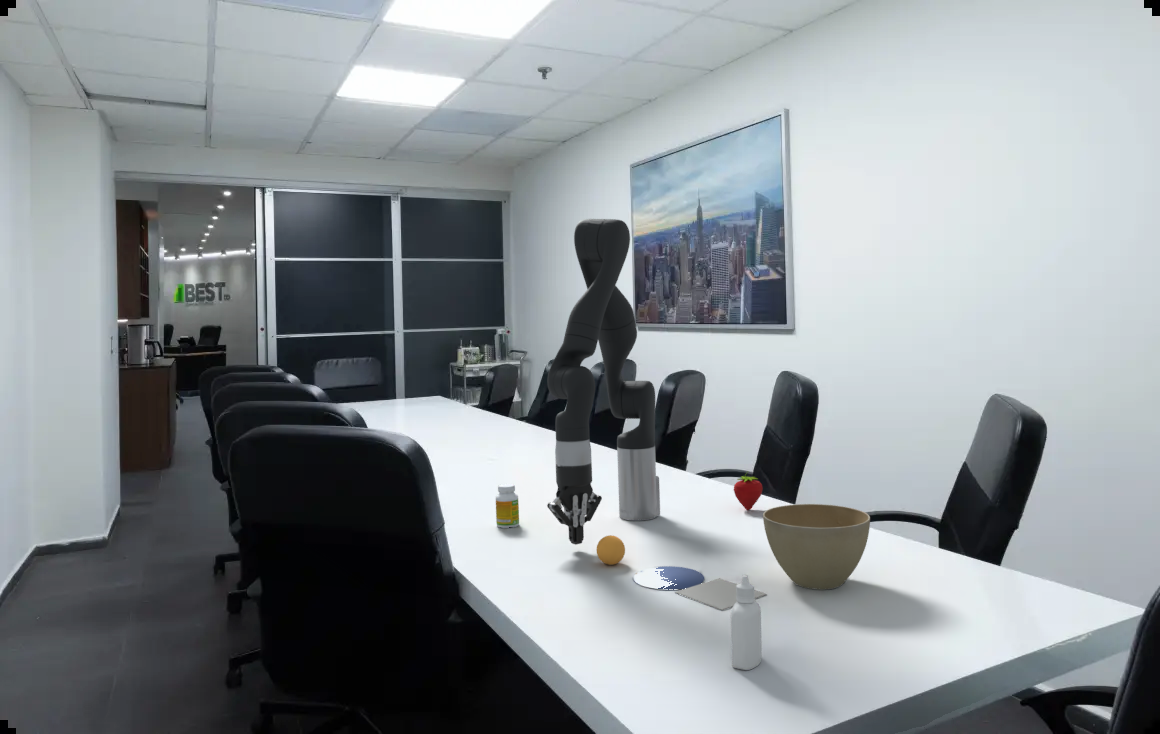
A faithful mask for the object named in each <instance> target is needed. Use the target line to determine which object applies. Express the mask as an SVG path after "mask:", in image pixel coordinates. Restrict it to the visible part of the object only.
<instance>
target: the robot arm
mask: <svg viewBox="0 0 1160 734" xmlns="http://www.w3.org/2000/svg"><path fill="white" fill-rule="evenodd" d="M573 234H574V235H573V244H574V249H575V254H576V257H577V261H578V264H579V267H580V270H581V273H582V276H583V279H584V282H585V286H586V289H587V290H586V291H584V293H583V295H581V297H580V298H579V299H578V300H577V302H576V303H575V304H574V306H573V308H572V310H571V312H570V314H569V316H568V320H567V324H566V328H565V332H564V337H563V341H562V342H563V343H562V344H561V345H560V347H559V349H558V351H557V353H556V355H555V357H554V359H553V361H552V363H551V365H550V368H549V371H548V374H547V382H546V383H547V388H548V391H549V393H550V394H551V395H552V397H554V398H556V399H561V400H566V406H565V410H563V411H560V412H559V413H557V414H556V416H555V424H554V425H555V447H554V448H555V451H554V455H555V459H554V460H555V481H556V485H557V490H556V493H555V496H556V497H555V499H553V501H552V502H548V503H547V504H546V505H547V508H548V509H549V511H550V512H551V513H552V515H553V516H554V517H555V519H557V521H558V522H559V523H560V524H562V525H565V526H567V527H568V540H569V541H570V543H571V544H572V545H575V546H576V545H581V544H582V543H583V541H584V537H585V536H584V533H585V532H584V526H585V523H587V522H591V520H592V518H593V517H594V515H595V513H596V511H597V509H598V507H599V505H600V504H601V502H602V500H603V498H602V495H599V494H596V493H595V492H594V490H593V486H592V483H593V468H592V467H593V465H592V464H593V463H592V446H591V440H590V439H591V438H590V436H591V435H590V417H591V416H590V415H591V413H592V407H593V403H594V398H595V393H596V381H595V377H594V375H593V372H592V371H591V370H590V369H589V368H588V367H587V366H583V365H582V362H583V361H584V360H585V359H588V358H590V357H592V356H593V355H594V354H595V351H596V349H597V345H599V348H600V352H601V356H602V361H603V367H604V373H605V380H606V390H607V397H608V404H609V408H610V412H611V414H612V415H613V417H614V418H617V419H622V420H626V419H627V420H629V419H630V420H632V419H633V420H634V419H635V420H636V419H637V420H639V423H638V425H637V426H635V428H633V429H631V430H629V431H624V432H623V433H620V434H619V435H617V438H616V451H617V455H616V456H617V481H618V484H617V485H618V514H619V518H620V519H622V520H628V521H647V520H649V521H650V520H653V519H655V518H657V517H658V516H661V496H660V494H661V492H660V477H659V476H658V475H657V467H656V465H657V464H656V390H655V386H654V384H653V383H652V382H651V381H650V380H624V379H623V377H622V371H623V368H624V365H625V363H626V361H627V359H628V357H629V355H630V353H631V351H632V349H633V348H634V346H635V343H636V340H637V337H638V330H637V324H636V319H635V313H634V309H633V307H632V304H631V303H630V301H629V300H628V299H627V297H626V296H625V295H624V294H623V292H621V291H620V289H619V288H618V286H617V283H618V280H619V277H620V274H621V272H622V269H623V267H624V264H625V262H626V258H627V256H628V253H629V249H630V243H631V232H630V230H629V226H628V225H627V223H626V222H625V221H623V220H621V219H618V218H617V219H616V218H615V219H614V218H612V219H611V218H586V219H585V218H584V219H581V220H580V221H579V222H577V224H576V226H575V229H574V233H573Z"/></svg>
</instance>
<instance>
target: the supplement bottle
mask: <svg viewBox="0 0 1160 734" xmlns="http://www.w3.org/2000/svg"><path fill="white" fill-rule="evenodd" d="M497 491H498V494H497V495H496V496H495V513H496V514H495V519H496V521H495V522H496V526H497V527H498V528H500V527H503V528H502V529H510V528H509V527H513V528H516V527H518V526H519V525H520V510H519V509H520V508H519V495H518V494H517V493H515V492H516V486H515V484H514V483H513V484H512V483H501V484H499V485H498V486H497ZM515 526H516V527H515Z"/></svg>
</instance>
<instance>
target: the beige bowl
mask: <svg viewBox="0 0 1160 734" xmlns="http://www.w3.org/2000/svg"><path fill="white" fill-rule="evenodd" d="M762 519H763V525H764V526H763V527H764V532H765V535H766V539H767V542H768V544H769V547H770V550H771V552H772V554H773V556H774V557H775V560H776V561H777V563H778V565H779V566H780V568H781V569H782V570H783V572H784V573H785V574H786V576H788V578H789V579H790V580H791V582H792V583H794V584H795V585H797V586H798V587H802V588H805V589H810V590H832V589H833V590H834V589H836V588H839V587H841V586H842V585H843V584H844V583H846V581H847V580H848V579H849V577H851V575H852V574H853V573H854V571H855V570H856V569H857V566H858V565H859V563H860V561H861V559H862V557H863V554H864V552H865V549H866V547H867V542H868V539H869V533H870V528H871V527H870V526H871V516H870V515H869V514H868V512H865V511H862V510H860V509H857V508H854V507H853V508H852V507H850V506H849V507H848V506H843V505H842V506H841V505H835V504H821V503H803V504H802V503H801V504H797V503H796V504H787V505H786V504H785V505H779V506H775V507H772V508H768V509H767V510H765V511H763V514H762Z"/></svg>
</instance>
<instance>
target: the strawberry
mask: <svg viewBox="0 0 1160 734" xmlns="http://www.w3.org/2000/svg"><path fill="white" fill-rule="evenodd" d="M747 474H748V472H746V473H745V474H744V476H740V478H737V479H736V480H737V481H736V483H734V485H733V493H734V496H735V498H736V499H737V500H738V502H739V503H740V504H741V506H742V507H743V508H744V510H746V511H750V510H751V509H752V508H753V507H754V505H755V504H756V503H757V502H758V501H759V498H761V496H762V493H763V489H764V488H763V484H762V483H761V481H759V478H757V477H756V476H746V475H747Z"/></svg>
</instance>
